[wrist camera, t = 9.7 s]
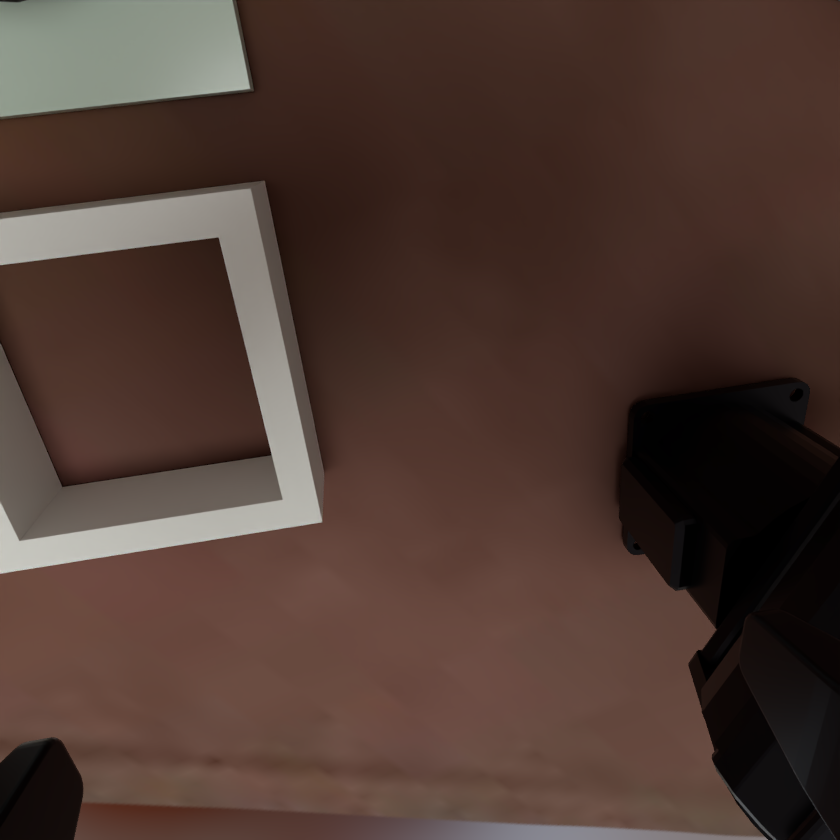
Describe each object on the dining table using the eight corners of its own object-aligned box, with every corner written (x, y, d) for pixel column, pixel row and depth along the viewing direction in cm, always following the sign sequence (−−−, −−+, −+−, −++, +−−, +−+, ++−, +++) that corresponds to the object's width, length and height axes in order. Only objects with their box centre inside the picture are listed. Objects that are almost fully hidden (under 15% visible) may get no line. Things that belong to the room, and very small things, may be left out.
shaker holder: (264, 180, 17) (250, 188, 14) (324, 473, 21) (322, 522, 18) (-91, 223, 16) (-177, 240, 14) (42, 516, 20) (-3, 573, 18)
